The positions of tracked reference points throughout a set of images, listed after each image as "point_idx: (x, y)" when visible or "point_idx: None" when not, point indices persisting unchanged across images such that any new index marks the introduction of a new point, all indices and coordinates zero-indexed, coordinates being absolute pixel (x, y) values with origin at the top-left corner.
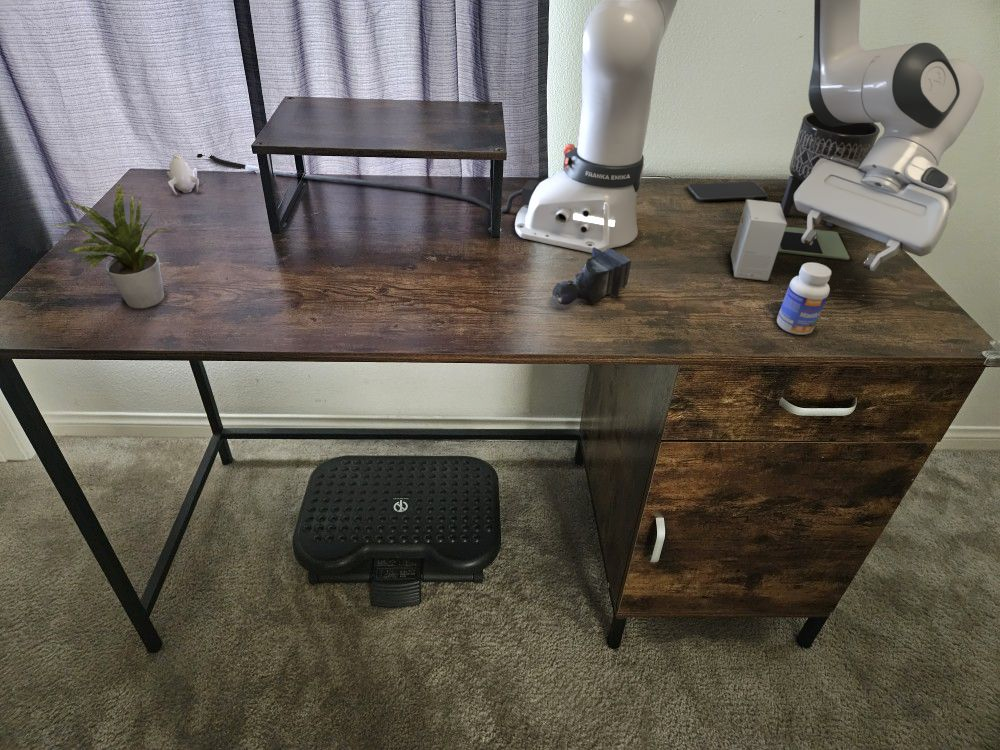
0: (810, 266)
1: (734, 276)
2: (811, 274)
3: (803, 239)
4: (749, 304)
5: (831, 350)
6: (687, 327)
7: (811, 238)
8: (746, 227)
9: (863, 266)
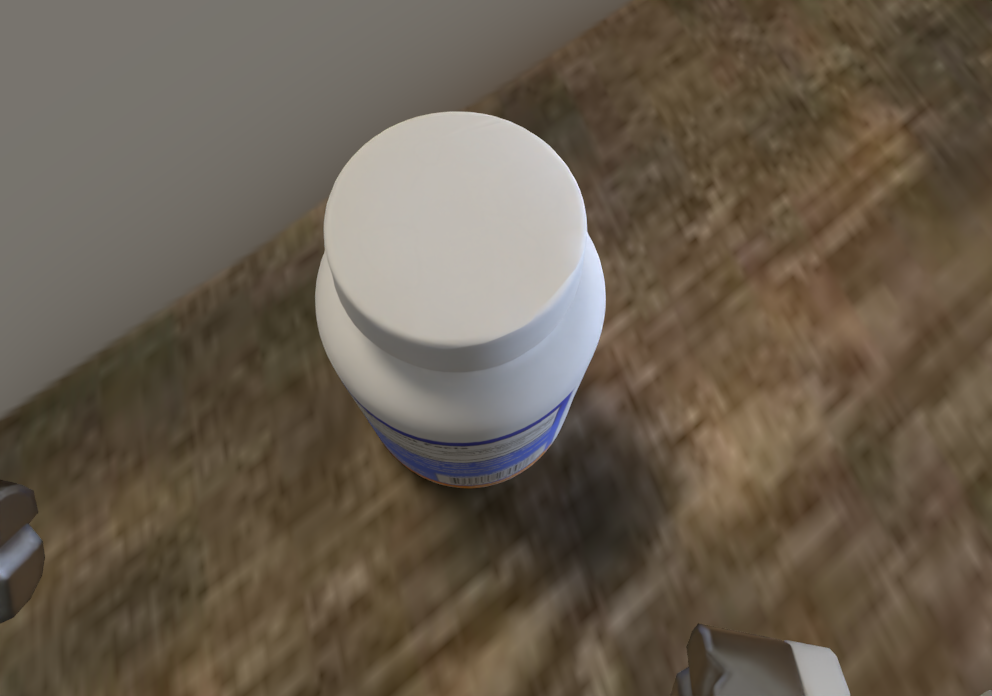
0: (517, 230)
1: (989, 691)
2: (467, 114)
3: (793, 642)
4: (749, 438)
5: (251, 297)
6: (864, 65)
7: (717, 652)
8: None
9: (39, 543)
